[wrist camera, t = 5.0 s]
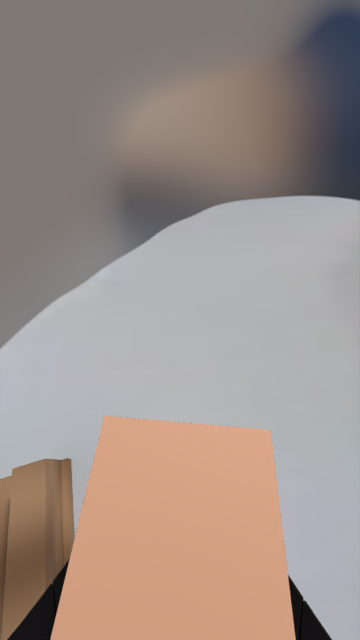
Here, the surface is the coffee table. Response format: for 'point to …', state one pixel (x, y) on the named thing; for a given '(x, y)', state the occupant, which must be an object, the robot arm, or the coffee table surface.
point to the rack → (33, 535)
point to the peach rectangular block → (178, 538)
